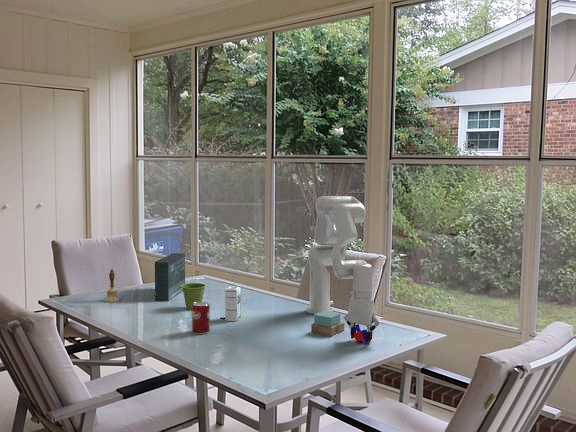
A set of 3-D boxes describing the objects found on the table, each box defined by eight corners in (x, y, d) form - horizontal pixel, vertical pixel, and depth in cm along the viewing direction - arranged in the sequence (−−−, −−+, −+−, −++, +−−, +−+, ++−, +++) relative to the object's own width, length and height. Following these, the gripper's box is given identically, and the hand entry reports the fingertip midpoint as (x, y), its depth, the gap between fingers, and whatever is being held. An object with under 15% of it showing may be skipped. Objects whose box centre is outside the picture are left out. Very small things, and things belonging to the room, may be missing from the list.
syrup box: (237, 321, 261) (237, 289, 260) (224, 320, 262) (224, 288, 261) (241, 318, 267) (241, 286, 265) (228, 317, 268) (228, 286, 267)
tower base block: (323, 328, 254) (324, 319, 254) (344, 332, 248) (344, 322, 248) (311, 333, 246) (311, 324, 245) (331, 337, 240) (332, 328, 240)
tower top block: (323, 319, 252) (323, 310, 252) (340, 322, 248) (340, 313, 247) (314, 324, 245) (314, 314, 245) (331, 327, 241) (331, 317, 241)
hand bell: (124, 300, 299) (123, 269, 298) (111, 303, 292) (110, 271, 291) (113, 297, 304) (112, 267, 302) (100, 301, 297) (99, 269, 295)
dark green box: (173, 288, 327) (172, 253, 325) (185, 289, 326) (185, 253, 324) (155, 301, 298) (154, 262, 296) (168, 301, 297) (168, 262, 296)
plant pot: (176, 309, 281) (176, 286, 279) (189, 304, 291) (189, 282, 290) (198, 312, 276) (197, 288, 275) (210, 306, 287) (210, 284, 286)
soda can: (195, 335, 240) (195, 306, 239) (189, 330, 246) (189, 302, 245) (212, 333, 243) (212, 304, 242) (206, 328, 250) (206, 300, 248)
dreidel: (363, 344, 235) (357, 325, 237) (370, 342, 232) (364, 322, 234) (357, 346, 233) (351, 326, 235) (364, 343, 230) (358, 323, 232)
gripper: (338, 293, 234) (337, 337, 235) (377, 299, 224) (376, 345, 226) (347, 290, 240) (346, 333, 241) (386, 296, 230) (385, 341, 232)
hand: (361, 338), depth 233 cm, fingers closed on dreidel, 6 cm apart
